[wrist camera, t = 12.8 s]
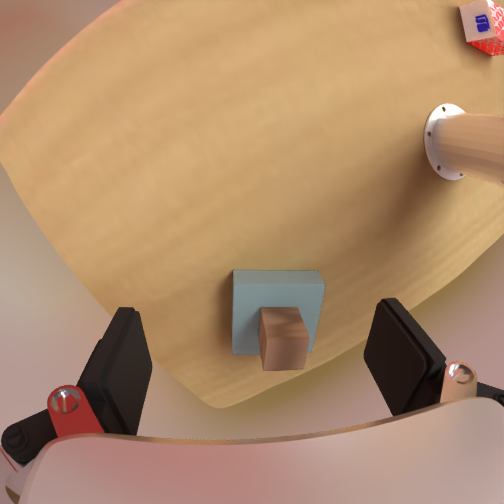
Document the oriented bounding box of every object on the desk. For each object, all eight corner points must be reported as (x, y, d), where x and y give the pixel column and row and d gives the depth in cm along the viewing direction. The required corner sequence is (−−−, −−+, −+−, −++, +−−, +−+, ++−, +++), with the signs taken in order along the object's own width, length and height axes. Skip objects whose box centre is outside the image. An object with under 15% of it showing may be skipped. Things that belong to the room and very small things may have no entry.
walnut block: (297, 306, 39) (310, 339, 32) (292, 335, 41) (303, 369, 34) (260, 306, 38) (267, 340, 32) (257, 336, 40) (263, 371, 34)
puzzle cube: (492, 56, 29) (521, 53, 21) (466, 42, 28) (496, 36, 21) (485, 21, 26) (512, 16, 18) (458, 6, 25) (486, -3, 18)
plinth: (317, 270, 41) (325, 283, 38) (305, 336, 46) (311, 352, 42) (233, 269, 40) (234, 283, 37) (231, 338, 45) (232, 354, 41)
